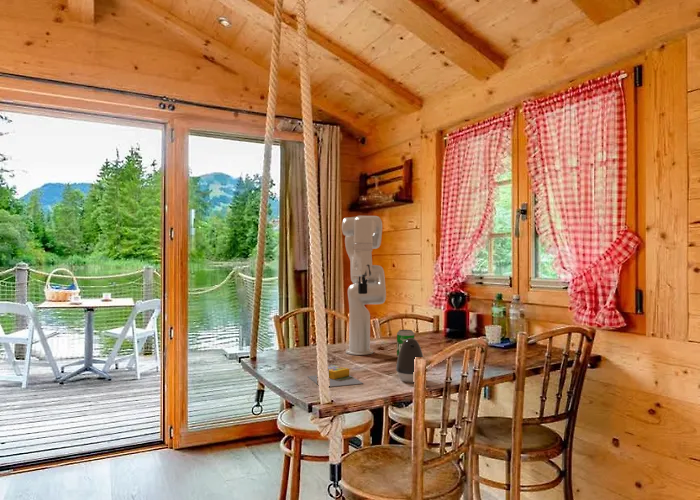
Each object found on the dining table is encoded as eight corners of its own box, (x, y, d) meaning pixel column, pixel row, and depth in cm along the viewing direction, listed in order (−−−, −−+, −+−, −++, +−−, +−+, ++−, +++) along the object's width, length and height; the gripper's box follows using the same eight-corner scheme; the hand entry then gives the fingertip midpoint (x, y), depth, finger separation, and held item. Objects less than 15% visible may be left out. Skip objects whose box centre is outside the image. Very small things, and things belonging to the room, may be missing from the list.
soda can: (394, 357, 217) (394, 329, 217) (409, 356, 219) (410, 328, 219) (401, 360, 210) (401, 332, 210) (417, 359, 212) (417, 331, 212)
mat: (307, 376, 180) (307, 376, 180) (346, 373, 186) (346, 372, 186) (322, 388, 165) (322, 387, 165) (363, 383, 171) (363, 383, 171)
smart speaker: (398, 384, 170) (399, 340, 170) (394, 377, 180) (394, 335, 181) (428, 384, 171) (428, 340, 171) (421, 377, 181) (421, 335, 181)
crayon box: (332, 363, 187) (353, 369, 178) (332, 371, 187) (353, 377, 178) (317, 366, 182) (338, 372, 173) (317, 375, 182) (338, 381, 173)
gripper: (347, 248, 204) (347, 292, 204) (361, 247, 190) (361, 295, 190) (364, 248, 207) (363, 292, 207) (379, 247, 193) (379, 294, 193)
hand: (362, 293), depth 198 cm, fingers closed
